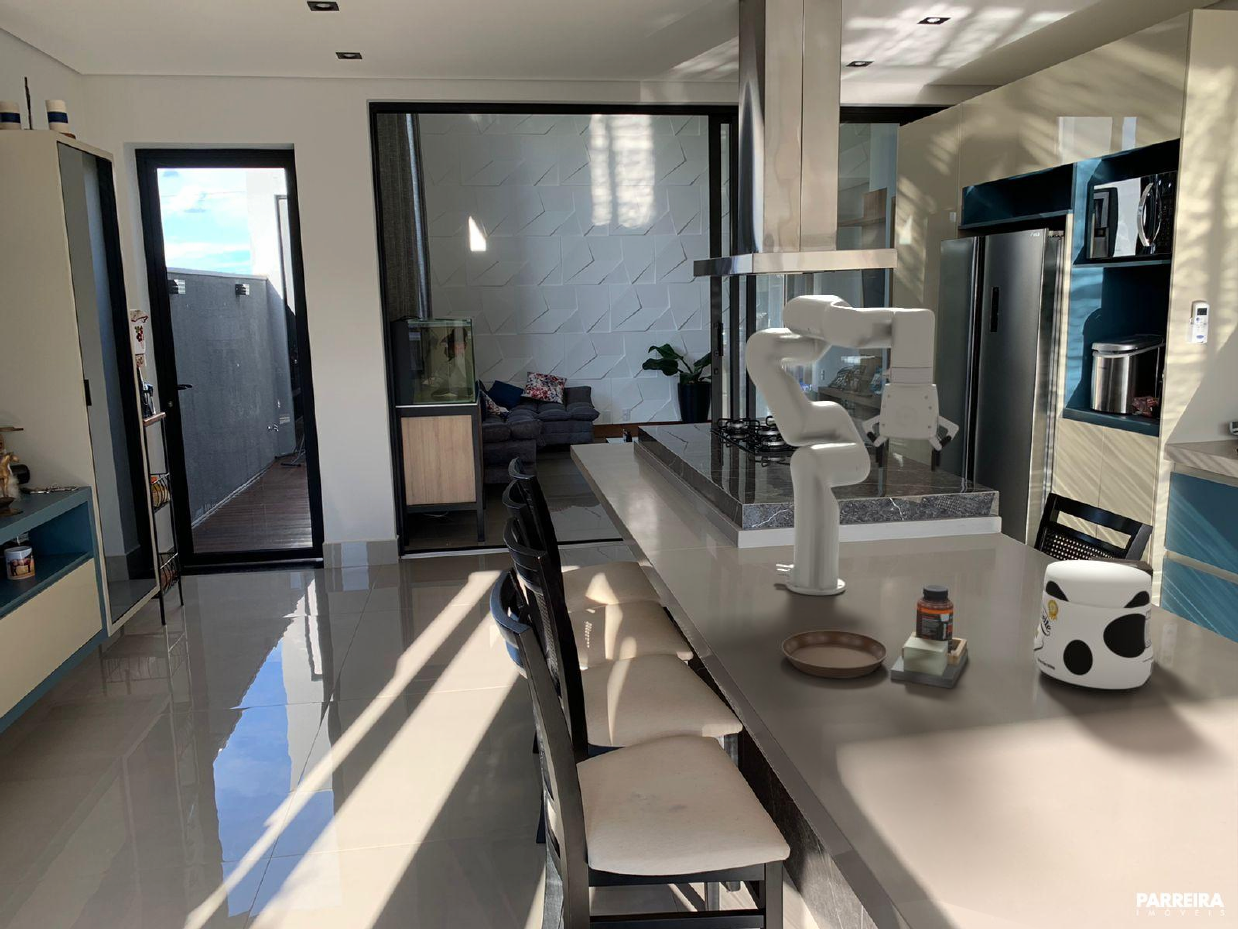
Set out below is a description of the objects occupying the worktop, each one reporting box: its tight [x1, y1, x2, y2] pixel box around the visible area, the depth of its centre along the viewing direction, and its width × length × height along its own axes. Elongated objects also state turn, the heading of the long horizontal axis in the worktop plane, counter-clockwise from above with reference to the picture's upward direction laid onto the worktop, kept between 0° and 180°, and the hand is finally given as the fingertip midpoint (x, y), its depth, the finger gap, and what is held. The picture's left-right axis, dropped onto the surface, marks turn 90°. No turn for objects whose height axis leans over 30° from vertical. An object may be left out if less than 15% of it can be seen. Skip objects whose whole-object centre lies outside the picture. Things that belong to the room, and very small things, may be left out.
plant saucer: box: [781, 629, 888, 679], centre depth 162 cm, size 18×18×3 cm
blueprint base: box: [890, 631, 969, 689], centre depth 159 cm, size 10×16×6 cm, turn 151°
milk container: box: [1033, 559, 1155, 693], centre depth 151 cm, size 17×17×18 cm
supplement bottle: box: [915, 584, 954, 653], centre depth 161 cm, size 6×6×11 cm
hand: (907, 468), depth 176 cm, fingers open, 9 cm apart
